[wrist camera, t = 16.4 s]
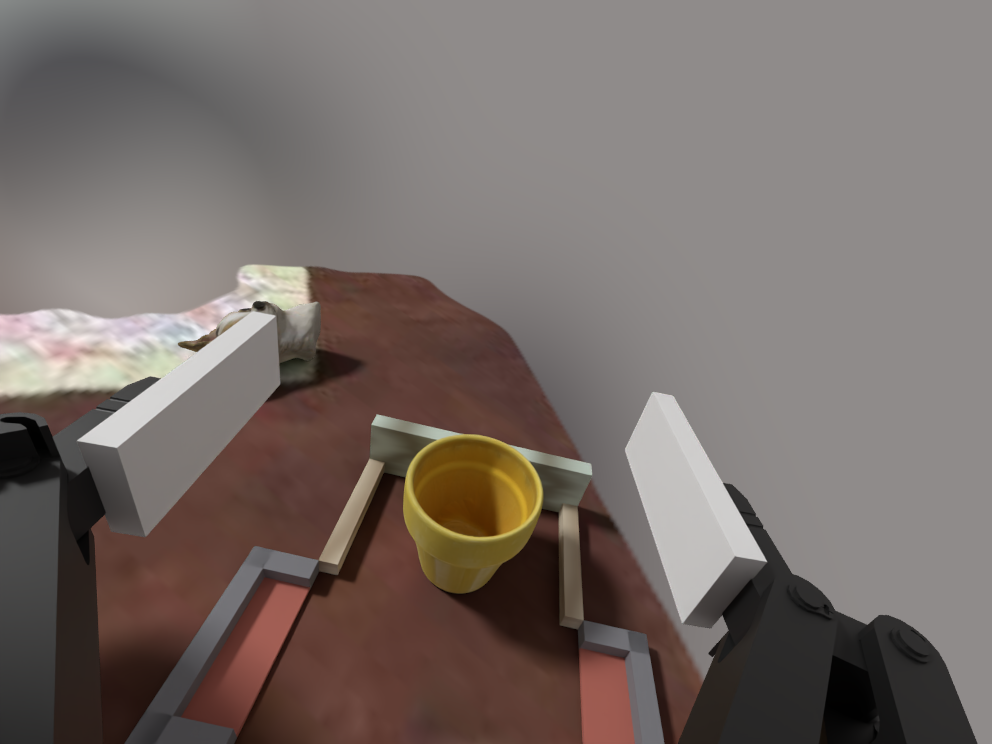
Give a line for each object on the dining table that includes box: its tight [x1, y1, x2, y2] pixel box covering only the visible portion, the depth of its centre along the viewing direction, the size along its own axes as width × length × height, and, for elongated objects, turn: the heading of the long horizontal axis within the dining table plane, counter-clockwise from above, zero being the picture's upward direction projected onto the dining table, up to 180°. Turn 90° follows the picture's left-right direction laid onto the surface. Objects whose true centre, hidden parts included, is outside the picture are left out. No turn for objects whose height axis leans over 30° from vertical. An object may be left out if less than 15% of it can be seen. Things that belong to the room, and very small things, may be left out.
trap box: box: [319, 415, 592, 629], centre depth 29 cm, size 21×32×6 cm, turn 173°
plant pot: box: [403, 434, 543, 593], centre depth 35 cm, size 10×10×10 cm
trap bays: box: [124, 546, 664, 744], centre depth 29 cm, size 31×12×2 cm, turn 83°
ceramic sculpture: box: [178, 301, 321, 363], centre depth 51 cm, size 11×9×15 cm
